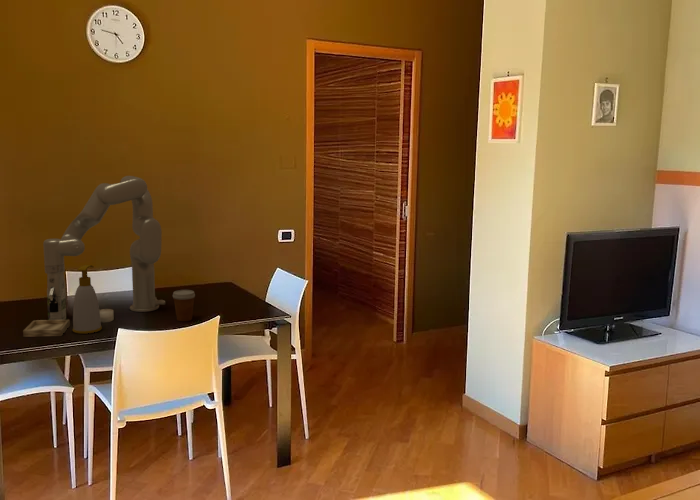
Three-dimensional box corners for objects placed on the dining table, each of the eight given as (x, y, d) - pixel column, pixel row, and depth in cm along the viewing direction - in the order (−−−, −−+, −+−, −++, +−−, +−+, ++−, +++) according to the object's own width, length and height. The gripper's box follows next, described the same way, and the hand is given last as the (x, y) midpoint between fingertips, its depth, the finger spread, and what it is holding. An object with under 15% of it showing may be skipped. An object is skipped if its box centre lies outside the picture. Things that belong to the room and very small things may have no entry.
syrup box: (52, 319, 288) (50, 285, 285) (67, 319, 288) (65, 285, 285) (48, 323, 282) (46, 289, 279) (62, 322, 282) (60, 289, 280)
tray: (70, 325, 279) (69, 319, 279) (61, 335, 266) (61, 329, 265) (33, 326, 277) (33, 320, 277) (23, 336, 263) (23, 330, 263)
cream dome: (115, 317, 292) (114, 308, 291) (112, 322, 285) (111, 313, 285) (98, 318, 291) (97, 309, 290) (94, 322, 284) (94, 313, 283)
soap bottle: (107, 327, 278) (105, 264, 274) (92, 335, 267) (89, 270, 262) (82, 325, 280) (79, 262, 275) (66, 333, 269) (62, 268, 264)
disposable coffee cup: (184, 323, 285) (183, 296, 283) (168, 320, 290) (167, 292, 288) (200, 318, 293) (200, 291, 291) (184, 315, 298) (184, 288, 296)
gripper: (58, 273, 273) (61, 314, 276) (69, 264, 290) (71, 303, 293) (39, 273, 272) (41, 315, 275) (50, 264, 289) (52, 304, 292)
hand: (56, 309), depth 284 cm, fingers open, 8 cm apart
